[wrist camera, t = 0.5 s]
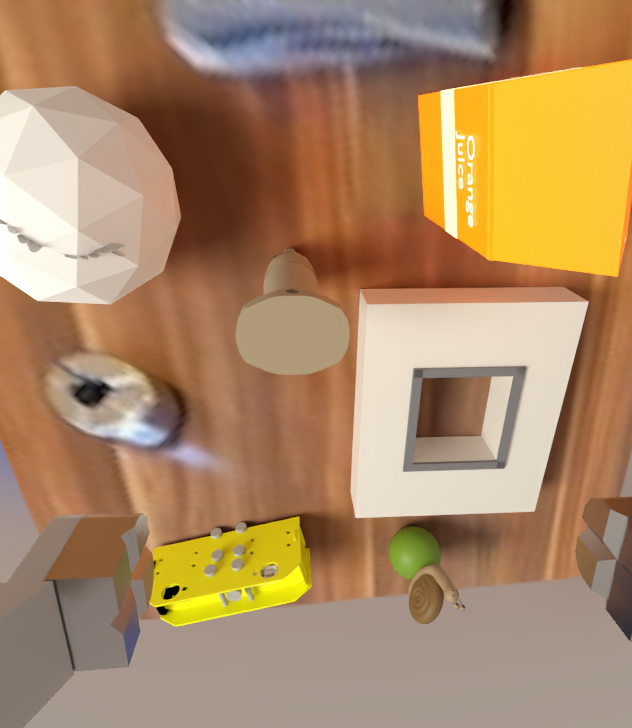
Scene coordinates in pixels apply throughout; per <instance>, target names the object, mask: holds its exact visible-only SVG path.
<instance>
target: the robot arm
mask: <svg viewBox="0 0 632 728" xmlns="http://www.w3.org/2000/svg"><path fill="white" fill-rule="evenodd" d="M582 517H583V519H584V520H585V522H586V524H587V525H588V527H587V528H586V529H585V530H584V531H583V532H582V533H581V534H580V535H579V536H578V539H577V545H576V551H575V552H576V558H577V564H578V568H579V570H580V573H581V575H582V577H583V579H584V580H585V581H586V583H587V585H588V586H589V587H590V589H591V590H593V591H595V592H596V593H598V594H599V595H601V596H603V597H604V598H606V599H607V600H606V610H607V612H608V613H609V614H610V616H611V617H612V618H613V620H614V621H615V622H616V624H617V625H618V626H619V628H620V629H621V630H622V632H623V633H624V634H625V636H626V637H627V638H628V640H629V641H632V497H611V498H590V500H589V501H588V502H587V504H586V505H585V508H584V512H583V516H582ZM148 535H149V527H148V522H147V517H146V516H145V515H144V514H143V513H141V514H87V515H84V514H79V515H58V516H56V517H54V518H52V519H51V520H50V522H49V523H48V524H47V526H46V527H45V529H44V530H43V532H42V533H41V535H40V536H39V538H38V539H37V540H36V542H35V543H34V545H33V546H32V548H31V549H30V551H29V552H28V553H27V555H26V556H25V558H24V559H23V561H22V562H21V563H20V565H19V566H18V568H17V569H16V571H15V572H14V573H13V575H12V577H11V578H10V579H9V581H8V582H7V583H0V728H23V727H24V726H25V725H26V724H27V723H28V722H29V721H30V720H31V719H32V718H33V716H35V715H36V714H37V713H38V712H39V710H40V709H41V708H42V707H43V706H44V705H45V704H46V703H47V702H48V701H49V700H50V699H51V698H52V697H53V696H54V695H55V693H57V692H58V691H59V690H60V689H61V688H62V686H63V685H64V684H65V683H66V682H67V681H68V680H69V679H70V678H71V677H72V676H73V675H74V672H73V671H83V670H95V669H107V668H120V667H129V664H130V661H131V658H132V655H133V652H134V649H135V646H136V643H137V640H138V637H139V633H140V627H139V620H138V617H139V616H140V615H141V614H142V613H144V612H145V611H146V610H147V609H148V605H149V602H150V599H151V595H152V588H153V581H154V562H153V555H152V552H150V551H149V550H148V549H147V548H146V547H145V544H146V541H147V538H148Z"/></svg>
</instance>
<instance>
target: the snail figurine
mask: <svg viewBox="0 0 632 728" xmlns="http://www.w3.org/2000/svg"><path fill="white" fill-rule="evenodd" d="M389 558H390V562H391V564H392V566H393V568H394V569H395V570H396V572H397V573H398V574H400V575H401V576H402V577H404V578H406V579H409V580H411V582H410V585H409V592H408V595H409V607H410V612H411V614H412V616H413V618H414V619H415V620H416V621H417V622H419V623H422V624H428V623H430V622H432V621H433V620H434V619H436V617H437V616H438V614H439V613H440V611H441V608H442V605H443V599H444V598H445V599H446V601H447V602H449V603H454V604H453V607H454V608H455V609H458V608H459V609H460V610H461V611H464V610H465V606H464V605H463V604H462V603H461V601H460V603H461V605H460V606H459V604H458V603H457V602H456V601H457V600H458V599H459V593H458V591H457V589H456V588H455V587H454V586H453V584H452V582H451V580H450V579H449V577H448V576H447V574H446V573H445V572H444V570H443V569H442V568H441V567H439V563H440V558H441V553H440V547H439V544H438V542H437V540H436V539H435V537H434V536H433V535H432V534H431V533H430V532H428V531H427V530H425V529H423V528H421V527H416V526H410V527H405V528H403V529H401V530H399V531H398V532H397V533H396V534H395V535H394V536H393V538H392V540H391V542H390V545H389Z"/></svg>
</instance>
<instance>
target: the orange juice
mask: <svg viewBox="0 0 632 728" xmlns="http://www.w3.org/2000/svg"><path fill="white" fill-rule="evenodd" d="M584 66H585V65H584ZM542 73H544V72H542ZM537 74H538V73H537ZM530 75H531V74H530ZM525 76H526V75H525ZM519 77H520V76H519ZM418 100H419V120H420V140H421V159H422V179H423V198H424V215H425V216H426V217H428V218H429V219H430V220H432V221H433V222H435V223H436V224H438V225H439V226H441V227H442V228H443V229H445V231H446V232H448V233H449V234H451V235H452V236H454V237H455V238H456V239H457V238H458V239H459V240H461V241H462V242H464V243H465V244H467V245H468V246H470V247H471V248H472V249H474V250H475V251H477V252H478V253H480V254H481V255H483V256H484V257H486V258H487V259H488V260H490V261H494V260H496V261H504V262H511V263H519V264H526V265H534V266H541V267H549V268H556V269H564V270H571V271H579V272H586V273H594V274H601V275H609V276H616V277H618V272H619V268H620V264H621V260H622V255H623V251H624V247H625V243H626V239H627V232H628V224H629V216H630V208H631V200H632V59H631V60H625V61H619V62H614V63H608V64H602V65H596V66H590V67H584V68H582V67H580V68H574V69H568V70H562V71H556V72H550V73H544V74H538V75H532V76H526V77H520V78H514V79H508V80H502V81H496V82H490V83H484V84H478V85H472V86H466V87H460V88H454V89H448V90H443V91H441V92H436V93H430V94H424V95H418Z"/></svg>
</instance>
